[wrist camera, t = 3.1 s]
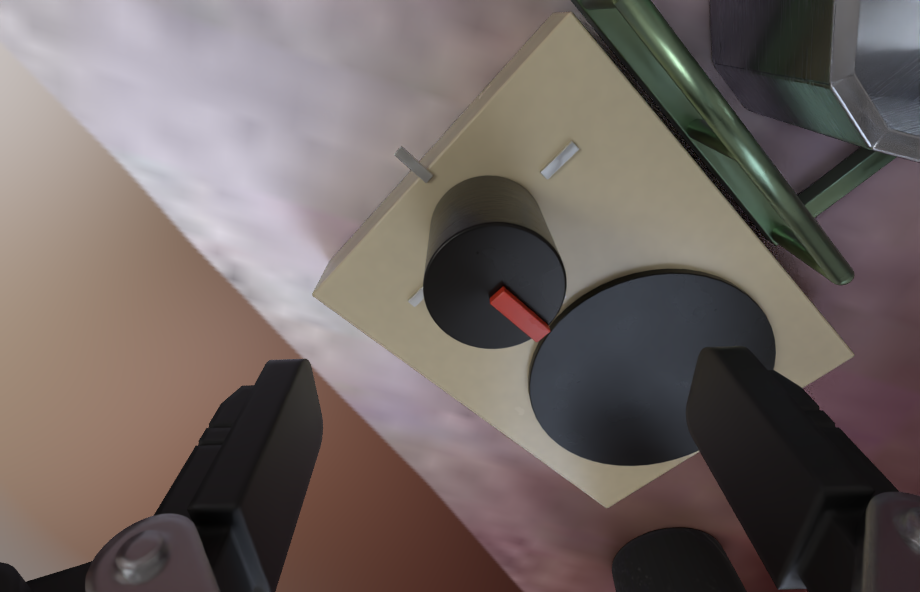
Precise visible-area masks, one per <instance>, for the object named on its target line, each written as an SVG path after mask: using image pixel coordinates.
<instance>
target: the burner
mask: <svg viewBox="0 0 920 592" xmlns="http://www.w3.org/2000/svg"><path fill="white" fill-rule="evenodd" d="M549 327H550V330H551V331H550V332H549V333H548V334H547V335H546V336H545V337H543V338H542V339H541V340H540V341H539V343H538V345H537V347H536V349H535V351H534V353H533V357H532V360H531V363H530V367H529V375H528V391H529V397H530V401H531V406H532V409H533V412H534V414H535V417H536V419H537V420H538V422H539V424H540V425H541V427H542V429H543V430H544V431H545V432H546V433H547V434H548V436H549V437H550V438H551V439H553V440H554V441H555V442H556V443H557V444H558V445H560V446H561V447H563V448H564V449H566V450H567V451H569V452H571V453H573V454H575V455H577V456H579V457H582V458H584V459H587V460H590V461H594V462H598V463H602V464H608V465H616V466H643V465H652V464H658V463H663V462H667V461H671V460H675V459H678V458H681V457H684V456H687V455H690V454H692V453H695V452H697V451H699V449H698V447H697V446H696V444H695V442H694V440H693V439H692V437H691V435H690V432H689V430H688V426H687V421H686V404H687V400H688V396H689V392H690V388H691V384H692V380H693V376H694V371H695V367H696V363H697V359H698V356H699V353H700V351H701V350H702V349H703V348H705V347H728V346H744V347H747V348H748V349H749V350H750V351H751V352H752V353H753V354H754V355H755V356H756V357H757V359H758V360H759V361H760V362H761V363H762V364H763V365H764V366H765V368H766V369H767V370H774V366H775V357H776V346H775V338H774V334H773V330H772V326H771V324H770V322H769V320H768V318H767V316H766V314H765V313H764V312H763V310H762V309H761V308H760V306H759V305H758V304H757V303H756V302H755V301H754V300H753V299H752V298H751V297H750V296H749V295H748V294H747V293H746V292H745V291H743V290H742V289H740V288H739V287H737V286H736V285H734V284H733V283H731V282H729V281H727V280H725V279H723V278H720V277H718V276H715V275H712V274H708V273H705V272H701V271H694V270H688V269H656V270H648V271H643V272H638V273H633V274H629V275H626V276H623V277H620V278H617V279H614V280H612V281H609V282H607V283H605V284H602V285H600V286H598V287H596V288H595V289H593V290H591V291H589V292H588V293H586V294H584V295H583V296H581V297H580V298H578V299H577V300H576V301H574V302H573V303H572V304H570V305H569V306H568V307H567V308H566V309H565V310H564V311H563V312H562V313H560V314H559V315H558V316H557V317H556V319H555V320H554V321H553V322H552V323H551V325H550V326H549Z"/></svg>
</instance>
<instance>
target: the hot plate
mask: <svg viewBox="0 0 920 592" xmlns="http://www.w3.org/2000/svg"><path fill="white" fill-rule="evenodd" d="M394 155H395V156H396V157H397V158H398V159H399V160H400V161H402V162H403V163H404V164H405V165H406V166H407V167H408V168H409V169H410V170H411V171H410V172H409V173H408V174H407V176H406V177H405V178H404V179H403V180H402V181H401V182H400V183H399V184H398V186H397V187H396V188H395V189H394V190H393V191H392V192H391V193H390V194H389V196H388V197H387V198H386V199H385V200H384V201H383V202H382V203H381V204H380V206H379V207H378V208H377V209H376V210H375V211H374V212H373V213H372V214H371V216H370V217H369V218H368V219H367V220H366V221H365V222H364V223H363V224H362V226H361V227H360V228H359V229H358V230H357V231H356V232H355V233H354V234H353V236H352V237H351V238H350V239H349V240H348V241H347V242H346V243H345V244H344V246H343V247H342V248H341V249H340V250H339V251H338V252H337V253H336V254H335V256H334V257H333V258H332V259H331V260H330V261H329V263H328V265H327V267H326V269H325V270H324V272H323V274H322V276H321V278H320V280H319V282H318V284H317V286H316V288H315V289H314V291H313V294H312V295H313V297H315V298H316V299H318V300H319V301H320V302H322V303H323V304H324V305H326V306H327V307H329V308H330V309H331V310H333V311H334V312H336V313H337V314H338V315H340V316H341V317H342V318H344V319H345V320H347V321H348V322H349V323H351V324H352V325H353V326H355V327H356V328H358V329H359V330H360V331H362V332H363V333H365V334H366V335H367V336H369V337H370V338H371V339H373V340H374V341H376V342H377V343H378V344H380V345H381V346H383V347H384V348H385V349H387V350H388V351H389V352H391V353H392V354H394V355H395V356H396V357H398V358H399V359H401V360H402V361H403V362H405V363H406V364H407V365H409V366H410V367H412V368H413V369H414V370H416V371H417V372H419V373H420V374H421V375H423V376H424V377H425V378H427V379H428V380H430V381H431V382H432V383H434V384H435V385H437V386H438V387H439V388H441V389H442V390H443V391H445V392H446V393H448V394H449V395H450V396H452V397H453V398H454V399H456V400H457V401H459V402H460V403H461V404H463V405H464V406H466V407H467V408H468V409H470V410H471V411H472V412H474V413H475V414H477V415H478V416H479V417H481V418H482V419H484V420H485V421H486V422H488V423H489V424H490V425H492V426H493V427H495V428H496V429H497V430H499V431H500V432H502V433H503V434H504V435H506V436H507V437H508V438H510V439H511V440H513V441H514V442H515V443H517V444H518V445H520V446H521V447H522V448H524V449H525V450H526V451H528V452H529V453H531V454H532V455H533V456H535V457H536V458H538V459H539V460H540V461H542V462H543V463H544V464H546V465H547V466H549V467H550V468H551V469H553V470H554V471H555V472H557V473H558V474H560V475H561V476H562V477H564V478H565V479H567V480H568V481H569V482H571V483H572V484H573V485H575V486H576V487H578V488H579V489H580V490H582V491H583V492H585V493H586V494H587V495H589V496H590V497H591V498H593V499H594V500H596V501H597V502H598V503H600V504H601V505H603V506H604V507H605V508H609V507H611V506H612V505H614V504H615V503H617V502H619V501H620V500H622V499H624V498H625V497H627V496H628V495H630V494H632V493H633V492H635V491H636V490H638V489H640V488H641V487H643V486H645V485H646V484H648V483H649V482H651V481H653V480H654V479H656V478H658V477H659V476H661V475H662V474H664V473H666V472H667V471H669V470H671V469H672V468H674V467H675V466H677V465H679V464H680V463H682V462H684V461H685V460H687V459H688V458H690V457H692V456H693V455H695V454H697V453H698V452H700V451H697V452H695V453H692V454H690V455H687V456H684V457H681V458H678V459H675V460H671V461H667V462H663V463H658V464H652V465H643V466H616V465H608V464H602V463H598V462H594V461H590V460H587V459H584V458H582V457H579V456H577V455H575V454H573V453H571V452H569V451H567V450H566V449H564V448H563V447H561V446H560V445H558V444H557V443H556V442H555V441H554V440H553V439H551V438H550V437H549V436H548V434H547V433H546V432H545V431H544V430H543V429H542V427H541V425H540V424H539V422H538V420H537V419H536V417H535V414H534V412H533V409H532V406H531V401H530V397H529V391H528V375H529V367H530V363H531V360H532V357H533V353H534V351H535V349H536V347H537V345H538V343H539V341H538V342H535V341H534V340H533V339H530V340H529V341H527V342H524V343H522V344H519V345H516V346H513V347H508V348H502V349H483V348H477V347H473V346H469V345H466V344H463V343H461V342H459V341H457V340H455V339H453V338H452V337H450V336H449V335H447V334H446V333H445V332H444V331H443V330H442V329H440V327H439V326H438V325H437V324H436V323H435V322H434V320H433V319H432V317H431V316H430V314H429V312H428V310H427V307H426V304H425V301H424V296H423V278H424V271H425V263H426V255H427V248H428V240H429V232H430V225H431V219H432V215H433V212H434V210H435V207H436V205H437V204H438V202H439V201H440V199H441V198H442V197H443V196H444V194H445V193H446V192H447V191H448V190H450V189H451V188H452V187H454V186H455V185H456V184H458V183H460V182H462V181H464V180H467V179H469V178H473V177H477V176H485V175H491V176H500V177H504V178H507V179H510V180H512V181H515V182H517V183H518V184H520V185H521V186H523V187H524V188H525V189H526V190H528V191H529V192H530V194H531V195H532V196H533V197H534V199H535V200H536V202H537V203H538V206H539V208H540V210H541V212H542V214H543V217H544V219H545V221H546V224H547V226H548V228H549V231H550V233H551V235H552V238H553V240H554V242H555V245H556V247H557V249H558V252H559V254H560V256H561V259H562V261H563V264H564V267H565V270H566V277H567V289H566V295H565V299H564V302H563V305H562V307H561V309H560V311H559V313H558V314H557V316H558V315H559V314H560V313H562V312H563V311H564V310H565V309H566V308H567V307H568V306H569V305H570V304H572V303H573V302H574V301H576V300H577V299H578V298H580V297H581V296H583V295H584V294H586V293H588V292H589V291H591V290H593V289H595V288H596V287H598V286H600V285H602V284H605V283H607V282H609V281H612V280H614V279H617V278H620V277H623V276H626V275H629V274H633V273H638V272H643V271H648V270H656V269H688V270H694V271H701V272H705V273H708V274H712V275H715V276H718V277H720V278H723V279H725V280H727V281H729V282H731V283H733V284H734V285H736V286H737V287H739V288H740V289H742V290H743V291H745V292H746V293H747V294H748V295H749V296H750V297H751V298H752V299H753V300H754V301H755V302H756V303H757V304H758V305H759V306H760V308H761V309H762V310H763V312H764V313H765V314H766V316H767V318H768V320H769V322H770V324H771V326H772V330H773V334H774V338H775V346H776V357H775V366H774V370H775V371H776V372H778V373H780V374H781V375H783V376H784V377H786V378H788V379H789V380H791V381H792V382H794V383H796V384H797V385H799V386H800V387H801V388H804V387H805V386H807V385H809V384H810V383H812V382H813V381H815V380H817V379H818V378H820V377H822V376H823V375H825V374H826V373H828V372H830V371H831V370H833V369H834V368H836V367H838V366H839V365H841V364H843V363H844V362H846V361H847V360H849V359H851V358H852V357H854V356H855V355H854V353H853V352H852V351H851V349H850V348H849V347H848V346H847V344H846V343H845V342H844V341H843V340H842V338H841V337H840V336H839V335H838V334H837V332H836V331H835V330H834V329H833V327H832V326H831V325H830V324H829V323H828V321H827V320H826V319H825V318H824V317H823V315H822V314H821V313H820V312H819V311H818V309H817V308H816V307H815V306H814V304H813V303H812V302H811V301H810V300H809V298H808V297H807V296H806V295H805V294H804V292H803V291H802V290H801V289H800V288H799V286H798V285H797V284H796V283H795V281H794V280H793V279H792V278H791V277H790V275H789V274H788V273H787V272H786V271H785V269H784V268H783V267H782V266H781V265H780V263H779V262H778V261H777V260H776V258H775V257H774V256H773V255H772V254H771V252H770V251H769V250H768V249H767V248H766V246H765V245H764V244H763V243H762V242H761V240H760V239H759V238H758V237H757V235H756V234H755V233H754V232H753V231H752V229H751V228H750V227H749V226H748V225H747V223H746V222H745V221H744V220H743V218H742V217H741V216H740V215H739V214H738V212H737V211H736V210H735V209H734V208H733V206H732V205H731V204H730V203H729V202H728V200H727V199H726V198H725V197H724V195H723V194H722V193H721V192H720V191H719V189H718V188H717V187H716V186H715V185H714V183H713V182H712V181H711V180H710V179H709V177H708V176H707V175H706V174H705V172H704V171H703V170H702V169H701V168H700V166H699V165H698V164H697V163H696V162H695V160H694V159H693V158H692V157H691V156H690V154H689V153H688V152H687V151H686V149H685V148H684V147H683V146H682V145H681V143H680V142H679V141H678V140H677V139H676V137H675V136H674V135H673V134H672V132H671V131H670V130H669V129H668V128H667V126H666V125H665V124H664V123H663V122H662V120H661V119H660V118H659V117H658V116H657V114H656V113H655V112H654V111H653V109H652V108H651V107H650V106H649V105H648V103H647V102H646V101H645V100H644V99H643V97H642V96H641V95H640V94H639V93H638V91H637V90H636V89H635V88H634V86H633V85H632V84H631V83H630V82H629V80H628V79H627V78H626V77H625V76H624V74H623V73H622V72H621V71H620V70H619V68H618V67H617V66H616V65H615V63H614V62H613V61H612V60H611V59H610V57H609V56H608V55H607V54H606V53H605V51H604V50H603V49H602V48H601V47H600V45H599V44H598V43H597V42H596V40H595V39H594V38H593V37H592V36H591V34H590V33H589V32H588V31H587V30H586V28H585V27H584V26H583V25H582V23H581V22H580V21H579V20H578V19H577V17H576V16H575V15H574V14H573V13H572V12H554V13H552V14H551V15H550V17H549V18H548V19H547V20H546V21H545V22H544V23H543V24H542V25H541V27H540V28H539V29H538V30H537V31H536V32H535V33H534V34H533V35H532V37H531V38H530V39H529V40H528V41H527V42H526V43H525V44H524V45H523V47H522V48H521V49H520V50H519V51H518V52H517V53H516V54H515V55H514V57H513V58H512V59H511V60H510V61H509V62H508V63H507V64H506V65H505V67H504V68H503V69H502V70H501V71H500V72H499V73H498V74H497V75H496V77H495V78H494V79H493V80H492V81H491V82H490V83H489V84H488V85H487V87H486V88H485V89H484V90H483V91H482V92H481V93H480V94H479V95H478V97H477V98H476V99H475V100H474V101H473V102H472V103H471V104H470V105H469V107H468V108H467V109H466V110H465V111H464V112H463V113H462V114H461V115H460V117H459V118H458V119H457V120H456V121H455V122H454V123H453V124H452V125H451V127H450V128H449V129H448V130H447V131H446V132H445V133H444V134H443V136H442V137H441V138H440V139H439V140H438V141H437V142H436V143H435V144H434V146H433V147H432V148H431V149H430V150H429V151H428V152H427V153H426V154H425V156H424V157H423V158H422V159H421V160H420V161H418V160H417V159H415V158H414V157H413V156H412V155H411V154H410V153H409V152H408V151H407V150H406V149H405V148H403V147H402V146H401V147H400V148H399V149H398V150H397V151H396V153H395V154H394ZM557 316H556V317H557ZM556 317H555V319H556ZM555 319H554V320H555ZM554 320H553V321H554ZM553 321H552V322H553ZM550 325H551V324H550ZM550 325H549V326H550Z"/></svg>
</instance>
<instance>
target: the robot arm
mask: <svg viewBox="0 0 920 592" xmlns="http://www.w3.org/2000/svg"><path fill="white" fill-rule="evenodd" d="M686 421H687V426H688V430H689V432H690V435H691V437H692V439H693V440H694V442H695V444H696V446H697V447H698V449H699V451H700V453H701V455H702V456H703V458H704V460H705V462H706V463H707V465H708V467H709V469H710V470H711V472H712V474H713V476H714V477H715V479H716V481H717V483H718V485H719V486H720V488H721V490H722V492H723V493H724V495H725V497H726V499H727V500H728V502H729V504H730V506H731V507H732V509H733V511H734V513H735V514H736V516H737V518H738V520H739V522H740V523H741V525H742V527H743V529H744V530H745V532H746V534H747V536H748V537H749V539H750V541H751V543H752V544H753V546H754V548H755V550H756V552H757V553H758V555H759V557H760V559H761V560H762V562H763V564H764V566H765V567H766V569H767V571H768V573H769V574H770V576H771V578H772V580H773V582H774V583H775V585H776V587H777V589H807V590H808V591H809V592H920V496H917V495H913V494H909V493H903V492H899V491H898V490H897V489H896V488H895V487H894V486H893V484H892V483H891V482H890V481H889V480H888V479H887V478H886V477H885V476H884V475H883V474H882V473H881V472H880V471H879V470H878V468H877V467H876V466H875V465H874V464H873V463H872V462H871V461H870V460H869V459H868V458H867V457H866V456H865V455H864V454H863V453H862V451H861V450H860V449H859V448H858V447H857V446H856V445H855V444H854V443H853V442H852V441H851V440H850V439H849V438H848V437H847V436H846V434H845V433H844V432H843V431H842V430H841V429H840V428H836V427H835V423H834V422H833V421H832V420H831V418H830V417H829V416H828V415H827V414H826V413H825V412H824V411H820V410H819V406H818V405H817V404H816V403H815V401H814V400H813V399H812V398H811V397H810V396H809V395H808V394H807V393H806V392H805V391H804V390H803V389H802V388H801V387H800V386H799V385H797V384H796V383H794V382H792V381H791V380H789V379H788V378H786V377H784V376H783V375H781V374H780V373H778V372H776V371H775V370H767V369H766V368H765V366H764V365H763V364H762V363H761V362H760V361H759V360H758V359H757V357H756V356H755V355H754V354H753V353H752V352H751V351H750V350H749V349H748V348H747V347H744V346H728V347H705V348H703V349H702V350H701V351H700V353H699V356H698V359H697V363H696V367H695V371H694V376H693V380H692V384H691V388H690V392H689V396H688V400H687V404H686ZM322 434H323V420H322V413H321V409H320V404H319V400H318V395H317V390H316V386H315V381H314V377H313V372H312V368H311V364H310V362H309V361H308V360H307V359H287V360H269V361H268V362H267V363H266V365H265V367H264V368H263V370H262V372H261V374H260V376H259V377H258V379H257V381H256V383H255V385H251V386H241V387H240V388H239V389H238V390H237V391H236V392H234V393H233V394H232V395H231V396H230V397H228V398H227V399H226V400H225V401H224V402H223V403H221V405H220V407H219V408H218V410H217V411H216V413H215V415H214V416H213V418H212V420H211V421H210V423H209V428H206V430H205V431H204V433H203V435H202V437H201V438H200V440H199V445H198V446H195V448H194V450H193V452H192V453H191V455H190V456H189V458H188V460H187V461H186V463H185V465H184V466H183V468H182V470H181V471H180V473H179V475H178V476H177V478H176V480H175V481H174V483H173V485H172V486H171V488H170V490H169V491H168V493H167V494H166V496H165V498H164V499H163V501H162V503H161V504H160V506H159V508H158V509H157V511H156V513H155V514H154V516H152V517H148V518H145V519H143V520H141V521H138V522H136V523H134V524H132V525H131V526H129V527H127V528H125V529H124V530H123V531H121V532H120V533H118V534H117V535H116V536H114V537H113V538H112V539H111V540H110V541H109V542H108V543H107V544H106V545H105V546H104V547H103V548H102V549H101V550H100V551H99V552H98V554H97V555H96V556H95V558H94V560H93V561H91V562H88V563H86V564H82V565H80V566H76V567H73V568H69V569H66V570H63V571H60V572H57V573H53V574H50V575H47V576H44V577H40V578H37V579H34V580H30V581H27V582H25V581H24V579H23V578H22V577H21V576H20V574H19V573H18V571H17V570H16V569H15V568H14V567H13V566H11V565H9V564H6V563H1V562H0V592H275V591H276V587H277V584H278V581H279V578H280V575H281V572H282V568H283V565H284V562H285V559H286V555H287V552H288V549H289V546H290V543H291V539H292V536H293V533H294V530H295V527H296V523H297V520H298V517H299V514H300V510H301V507H302V504H303V501H304V497H305V494H306V491H307V488H308V485H309V482H310V478H311V475H312V472H313V469H314V465H315V462H316V459H317V456H318V453H319V449H320V446H321V442H322Z"/></svg>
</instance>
